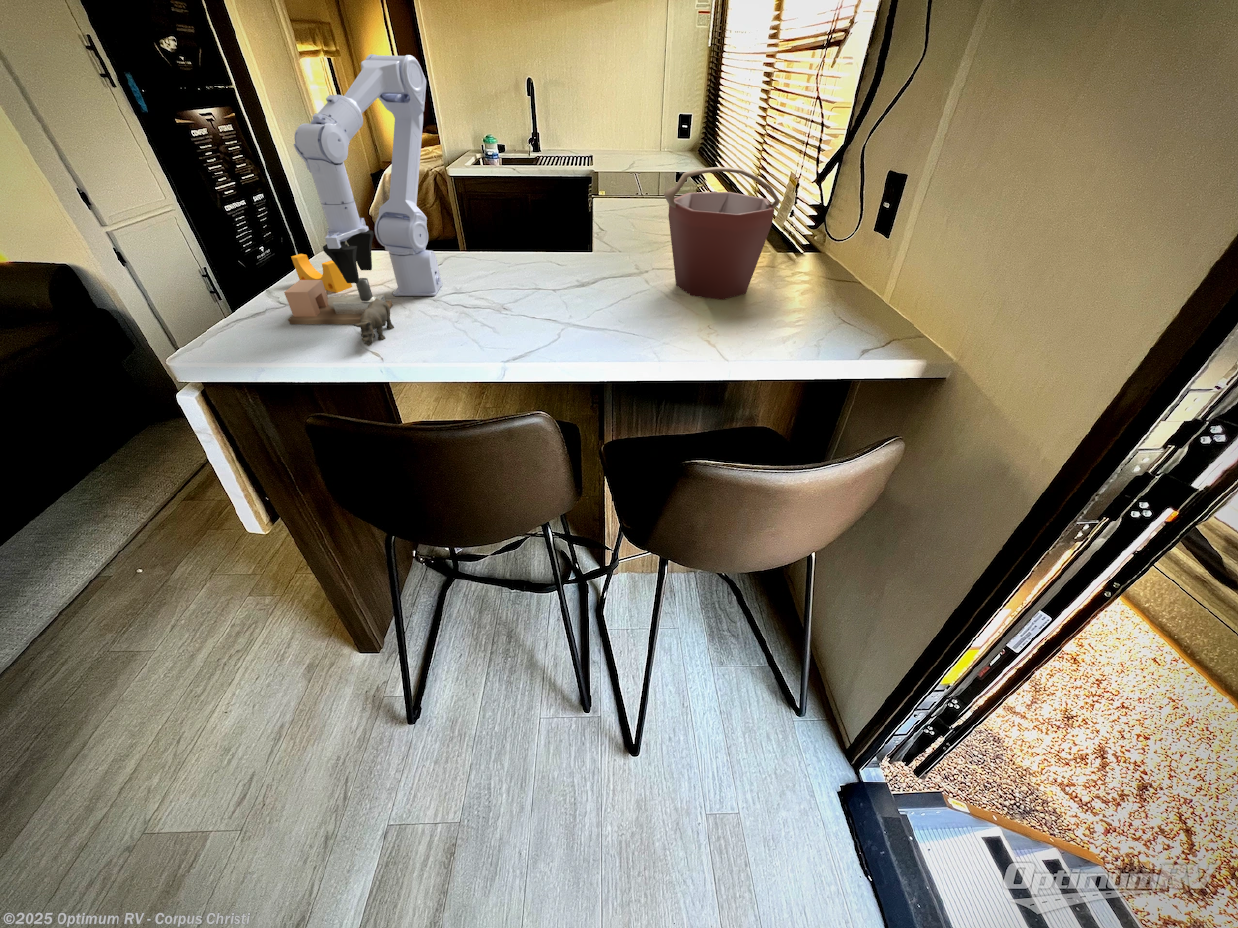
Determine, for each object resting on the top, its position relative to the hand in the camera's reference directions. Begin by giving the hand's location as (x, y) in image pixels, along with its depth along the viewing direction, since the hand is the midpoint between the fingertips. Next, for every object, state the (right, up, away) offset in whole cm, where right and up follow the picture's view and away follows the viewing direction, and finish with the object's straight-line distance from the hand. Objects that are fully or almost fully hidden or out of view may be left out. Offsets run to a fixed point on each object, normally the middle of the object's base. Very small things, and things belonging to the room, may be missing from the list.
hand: (359, 276), depth 103 cm
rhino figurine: (+5, -13, -3) cm, 15 cm away
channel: (-2, -5, +4) cm, 7 cm away
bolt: (-3, -5, +4) cm, 7 cm away
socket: (-12, -6, +4) cm, 14 cm away
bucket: (+75, +5, +22) cm, 78 cm away
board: (-7, -6, +5) cm, 10 cm away
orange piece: (-17, +4, +18) cm, 25 cm away
